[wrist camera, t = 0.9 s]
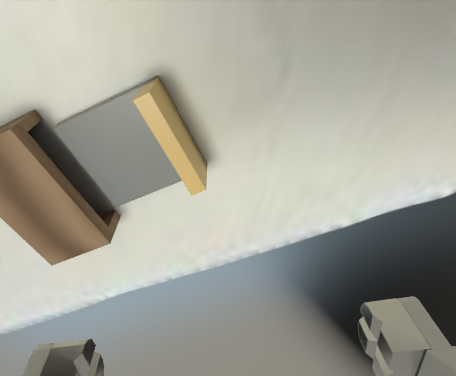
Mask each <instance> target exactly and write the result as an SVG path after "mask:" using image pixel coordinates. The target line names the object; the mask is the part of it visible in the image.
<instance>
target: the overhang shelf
mask: <svg viewBox="0 0 456 376" xmlns="http://www.w3.org/2000/svg"><path fill="white" fill-rule="evenodd" d="M40 120H42V118H41V117H40V115H39V114H38V113H37V112H36V110H33V111H31V112H29V113H27V114H25V115H23V116H21V117H19V118H17V119H15V120H13V121H11V122H9V123H7V124H5V125H3V126H1V127H0V218H2V219H3V220H4V221H5V222H6V223H7V224H8V225H9V226H10V227H11V228H12V229H13V230H14V231H15V232H16V233H18V234H19V235H20V236H21V237H22V238H23V239H24V240H25V241H26V242H27V243H28V244H29V245H30V246H31V247H33V248H34V249H35V250H36V251H37V252H38V253H39V254H40V255H41V256H42V257H43V258H44V259H45V260H46V261H47V262H49V263H50V264H51V265H54V264H57V263H60V262H62V261H65V260H68V259H70V258H73V257H76V256H78V255H81V254H84V253H86V252H89V251H92V250H94V249H97V248H100V247H102V246H105V245H108V244H110V243H111V240H112V238H113V235H114V232H115V230H116V227H117V224H118V222H119V219H120V215H119V214H118V213H117V211H116V210H114V211H112V212H109V213H107V214H104V215H102V216H98V214H97V213H96V212H95V211H94V210H93V209H92V207H91V206H90V205H89V204H88V203H87V202H86V200H85V199H84V198H83V197H82V196H81V194H80V193H79V192H78V191H77V190H76V189H75V187H74V186H73V185H72V184H71V183H70V182H69V180H68V179H67V178H66V177H65V176H64V174H63V173H62V172H61V171H60V170H59V169H58V167H57V166H56V165H55V164H54V163H53V162H52V160H51V159H50V158H49V157H48V156H47V154H46V153H45V152H44V151H43V150H42V149H41V147H40V146H39V145H38V144H37V143H36V142H35V140H34V139H33V138H32V137H31V136H30V134H29V133H28V131H29V130H30V129H31V128H33V127H34V126H35V125H36V124H37V123H38V122H39V121H40Z"/></svg>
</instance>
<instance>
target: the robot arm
mask: <svg viewBox="0 0 456 376" xmlns="http://www.w3.org/2000/svg"><path fill="white" fill-rule="evenodd" d="M361 313H362V315H363V317H362V318H361V319H360V320H359V326H358V330H359V337H360V340H361V343H362V346H363V348H364V351H365V353H367V354H368V355H369V356H370V357H372V358H373V359H374V361H373V367H372V368H373V371H374V373H375V375H376V376H456V346H454V347H451V345H449V343H448V341H447V340H446V338H445V337H444V336H443V334H442V333H441V331H440V330H439V329H438V327H437V326H436V324H435V323H434V321H433V320H432V319H431V317H430V316H429V314H428V313H427V311H426V310H425V309H424V307H423V306H422V304H421V303H420V302H419V300H418V299H416V298H415V297H407V298H400V299H389V300H382V301H375V302H368V303H363V305H362V307H361ZM95 346H96V345H95V343H94V342H93V340H92V339H86V340H77V341H68V342H60V343H50V344H42V345H38V346H37V347H36V348H35V350H34V351H33V353H32V355H31V357H30V359H29V361H28V364H27V366H26V368H25V370H24V372H23V374H22V376H104V363H103V359H102V357H101V355H100V354H99V353H97V352H95V351H94V350H95Z"/></svg>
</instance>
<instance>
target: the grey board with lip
mask: <svg viewBox="0 0 456 376" xmlns="http://www.w3.org/2000/svg"><path fill="white" fill-rule="evenodd" d="M53 130H54V131H55V133H56V134H57V135H58V136H59V138H60V139H61V140H62V141H63V143H64V144H65V145H66V146H67V148H68V149H69V150H70V152H71V153H72V154H73V155H74V157H75V158H76V159H77V160H78V162H79V163H80V164H81V165H82V167H83V168H84V169H85V170H86V172H87V173H88V174H89V175H90V177H91V178H92V179H93V180H94V182H95V183H96V184H97V185H98V187H99V188H100V189H101V190H102V192H103V193H104V194H105V195H106V197H107V198H108V199H109V200H110V202H111V203H112V204H113V205H114V207H117V206H120V205H122V204H125V203H127V202H130V201H132V200H135V199H137V198H140V197H142V196H145V195H147V194H150V193H152V192H155V191H157V190H160V189H162V188H165V187H167V186H170V185H172V184H175V183H177V182H180V181H183V182H184V184H185V186H186V187H187V189H188V191H189V192H190V194H191V195H194V194H197V193H199V192H202V191H204V190H206V178H207V163H206V161H205V159H204V158H203V156H202V154H201V152H200V150H199V149H198V147H197V145H196V143H195V141H194V139H193V138H192V136H191V134H190V132H189V130H188V129H187V127H186V125H185V123H184V121H183V119H182V118H181V116H180V114H179V112H178V110H177V109H176V107H175V105H174V103H173V101H172V99H171V98H170V96H169V94H168V92H167V90H166V89H165V87H164V85H163V83H162V81H161V79H160V78H159V76H156V77H154V78H152V79H150V80H148V81H146V82H144V83H142V84H140V85H138V86H135V87H133V88H131V89H129V90H127V91H125V92H123V93H121V94H119V95H117V96H115V97H112V98H110V99H108V100H106V101H104V102H102V103H100V104H98V105H96V106H94V107H92V108H90V109H87V110H85V111H83V112H81V113H79V114H77V115H75V116H73V117H71V118H69V119H67V120H65V121H62V122H60V123H58V124H57V125H56V126H55V127H54V128H53Z"/></svg>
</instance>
